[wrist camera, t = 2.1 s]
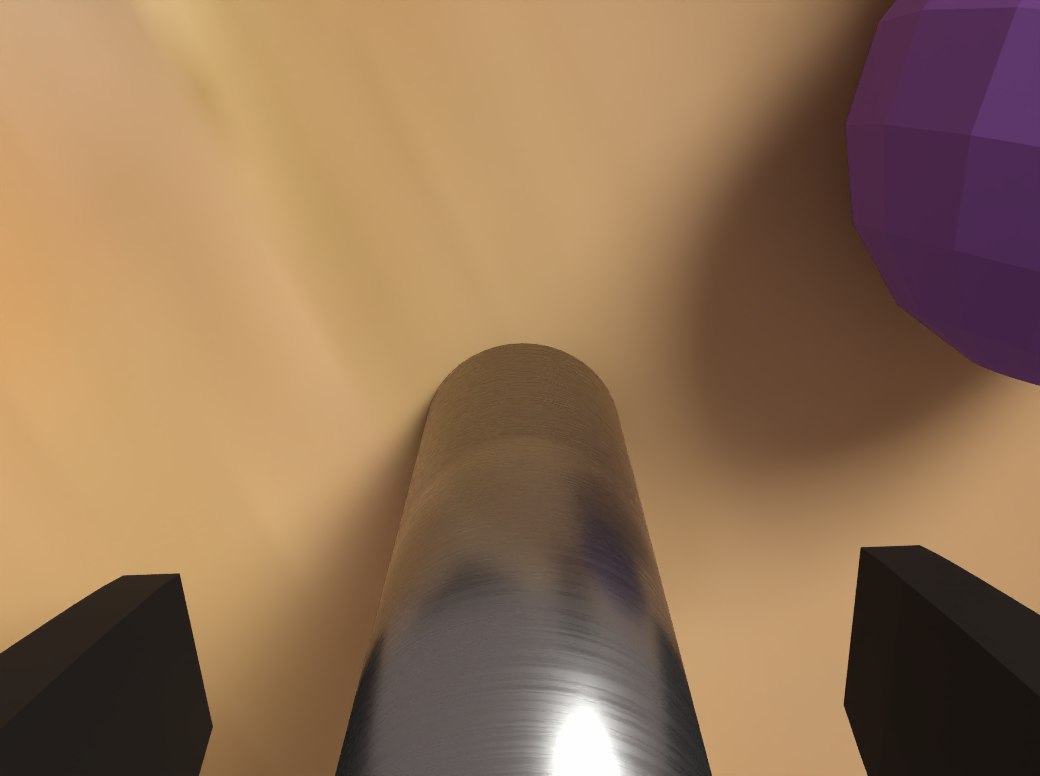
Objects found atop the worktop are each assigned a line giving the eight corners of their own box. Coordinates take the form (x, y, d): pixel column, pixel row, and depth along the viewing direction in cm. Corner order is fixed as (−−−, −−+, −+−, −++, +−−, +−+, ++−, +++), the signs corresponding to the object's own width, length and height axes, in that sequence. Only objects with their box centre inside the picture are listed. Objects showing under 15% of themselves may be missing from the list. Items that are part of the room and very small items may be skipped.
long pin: (657, 451, 15) (837, 988, 6) (506, 553, 15) (487, 1156, 7) (541, 304, 14) (572, 702, 5) (386, 419, 15) (199, 928, 6)
